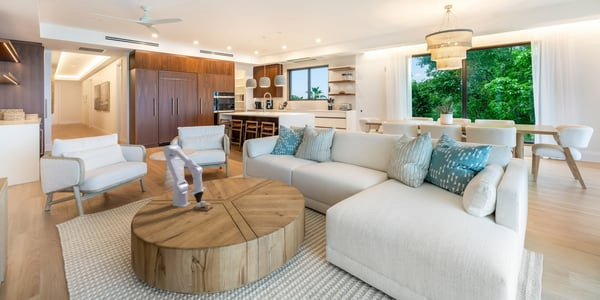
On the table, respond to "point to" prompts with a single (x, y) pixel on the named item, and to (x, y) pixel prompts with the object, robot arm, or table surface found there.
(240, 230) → the table surface
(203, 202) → the key slate
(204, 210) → the brown flat frame
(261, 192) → the table surface
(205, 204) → the key terracotta
